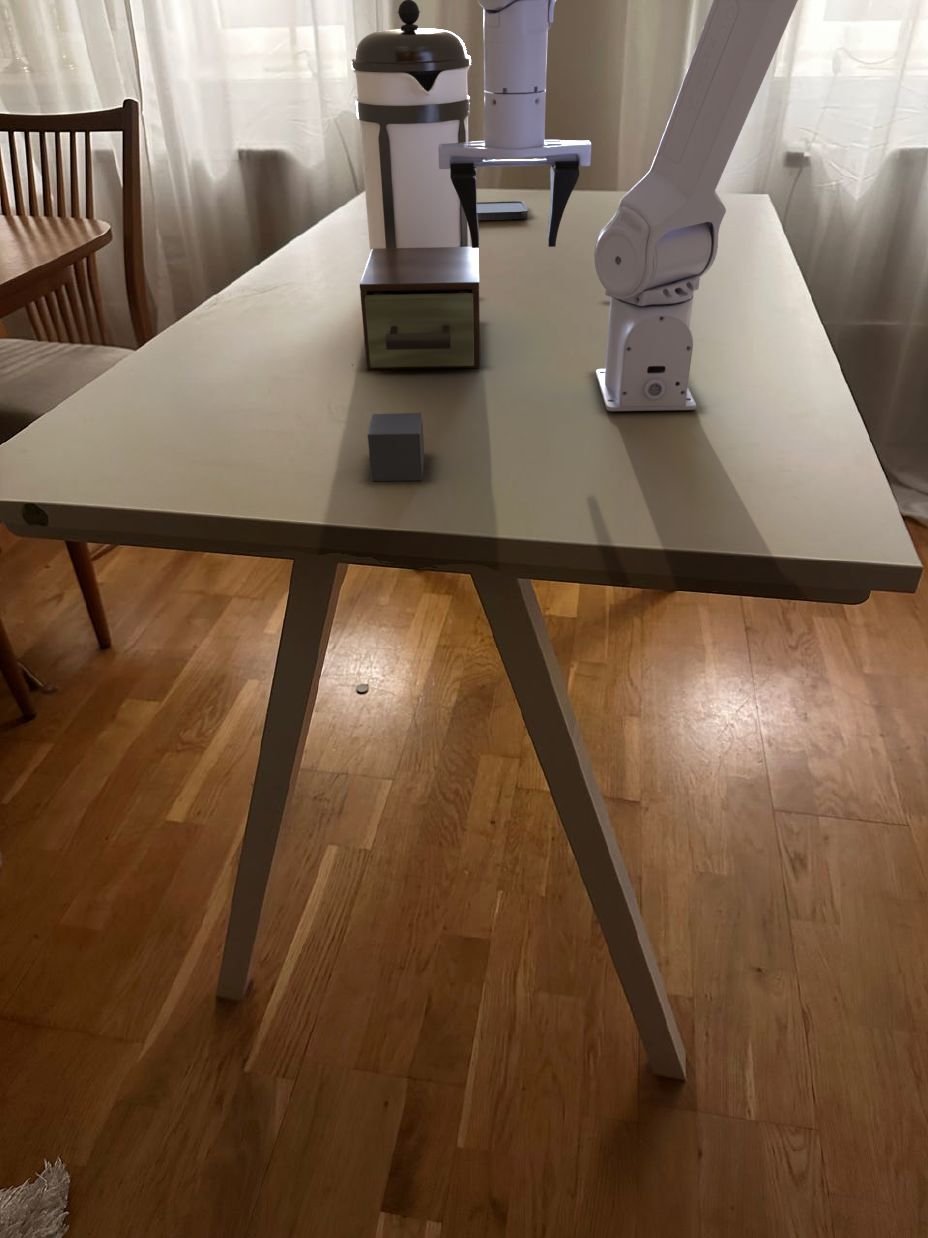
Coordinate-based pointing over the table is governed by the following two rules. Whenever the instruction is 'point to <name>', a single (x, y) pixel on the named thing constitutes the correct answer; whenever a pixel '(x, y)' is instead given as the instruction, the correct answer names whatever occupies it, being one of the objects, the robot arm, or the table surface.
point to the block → (396, 447)
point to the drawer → (420, 328)
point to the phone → (501, 210)
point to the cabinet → (423, 281)
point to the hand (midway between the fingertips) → (513, 244)
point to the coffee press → (411, 132)
